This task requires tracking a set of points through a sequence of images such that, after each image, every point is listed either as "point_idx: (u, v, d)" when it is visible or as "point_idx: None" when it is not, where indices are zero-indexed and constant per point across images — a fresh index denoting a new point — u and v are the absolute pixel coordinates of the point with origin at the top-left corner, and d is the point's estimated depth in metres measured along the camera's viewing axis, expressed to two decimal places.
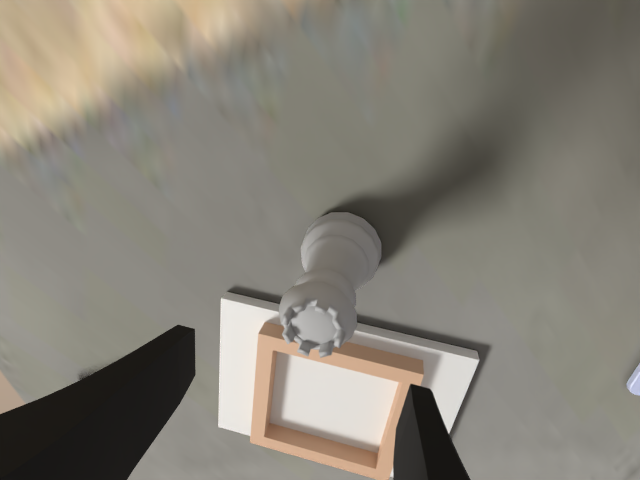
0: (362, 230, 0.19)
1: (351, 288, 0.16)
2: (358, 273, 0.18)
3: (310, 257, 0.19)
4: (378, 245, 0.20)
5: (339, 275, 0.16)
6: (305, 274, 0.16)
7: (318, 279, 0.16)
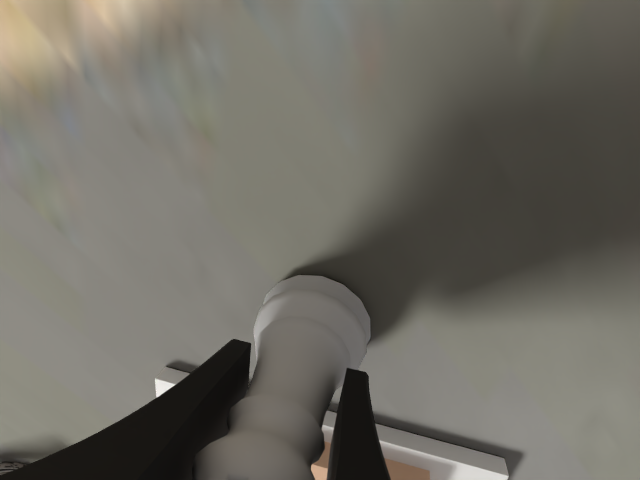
0: (341, 307, 0.13)
1: (316, 427, 0.10)
2: (332, 382, 0.12)
3: (261, 352, 0.12)
4: (366, 322, 0.14)
5: (296, 408, 0.10)
6: (242, 402, 0.10)
7: (261, 416, 0.09)
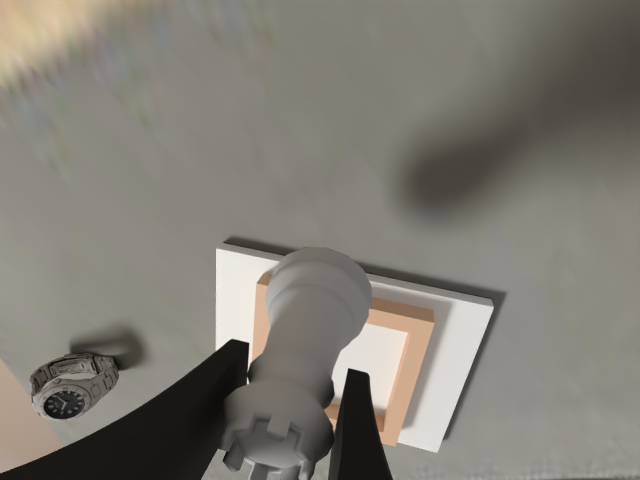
0: (345, 274, 0.14)
1: (327, 376, 0.11)
2: (339, 340, 0.13)
3: (274, 317, 0.14)
4: (367, 289, 0.15)
5: (308, 359, 0.11)
6: (261, 356, 0.11)
7: (278, 367, 0.11)
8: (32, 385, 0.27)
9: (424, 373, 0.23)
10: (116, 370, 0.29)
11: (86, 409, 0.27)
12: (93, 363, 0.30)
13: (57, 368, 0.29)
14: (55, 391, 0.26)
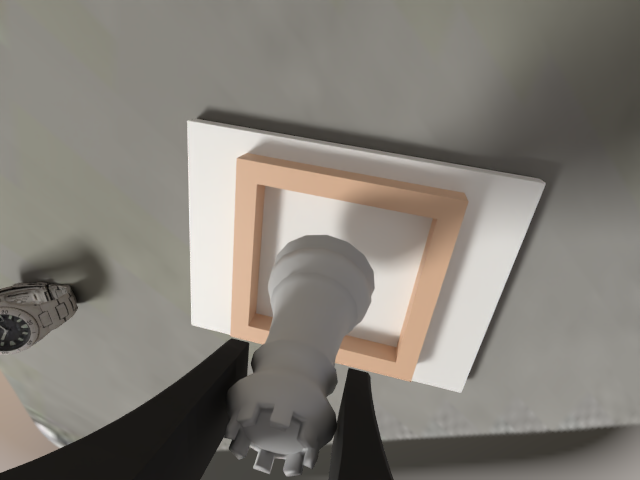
0: (346, 262, 0.14)
1: (329, 364, 0.11)
2: (341, 328, 0.13)
3: (276, 305, 0.14)
4: (370, 275, 0.15)
5: (311, 349, 0.11)
6: (263, 346, 0.11)
7: (280, 357, 0.11)
8: None
9: (449, 284, 0.18)
10: (73, 300, 0.24)
11: (33, 341, 0.22)
12: (48, 293, 0.25)
13: (5, 298, 0.25)
14: None
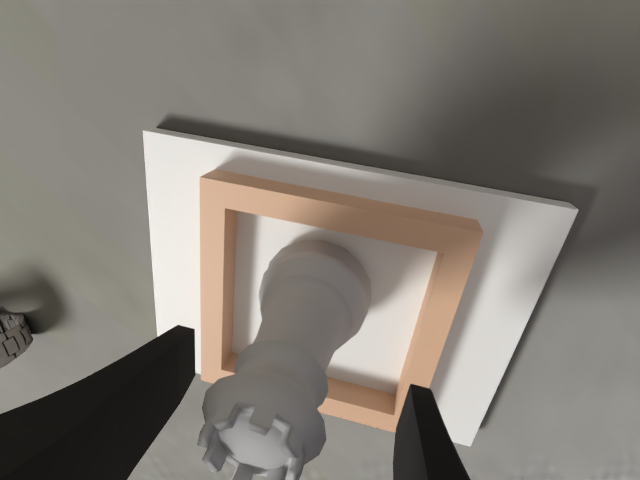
0: (342, 267, 0.13)
1: (319, 369, 0.10)
2: (335, 334, 0.12)
3: (266, 310, 0.13)
4: (366, 284, 0.15)
5: (299, 350, 0.10)
6: (248, 347, 0.10)
7: (266, 357, 0.10)
8: None
9: (457, 326, 0.15)
10: (26, 332, 0.21)
11: None
12: None
13: None
14: None
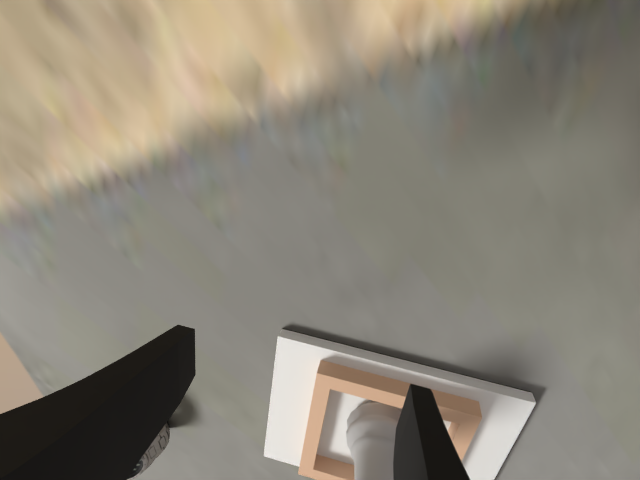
0: None
1: None
2: None
3: (358, 456, 0.22)
4: None
5: None
6: None
7: None
8: None
9: (465, 452, 0.25)
10: (168, 429, 0.31)
11: (143, 470, 0.29)
12: None
13: None
14: None
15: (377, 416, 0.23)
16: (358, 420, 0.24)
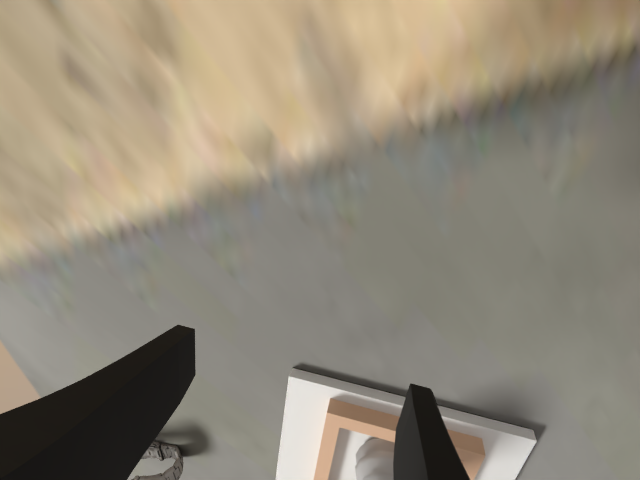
0: None
1: None
2: None
3: None
4: None
5: None
6: None
7: None
8: None
9: None
10: (182, 460, 0.32)
11: None
12: (159, 451, 0.33)
13: None
14: None
15: (385, 453, 0.24)
16: (367, 456, 0.25)
